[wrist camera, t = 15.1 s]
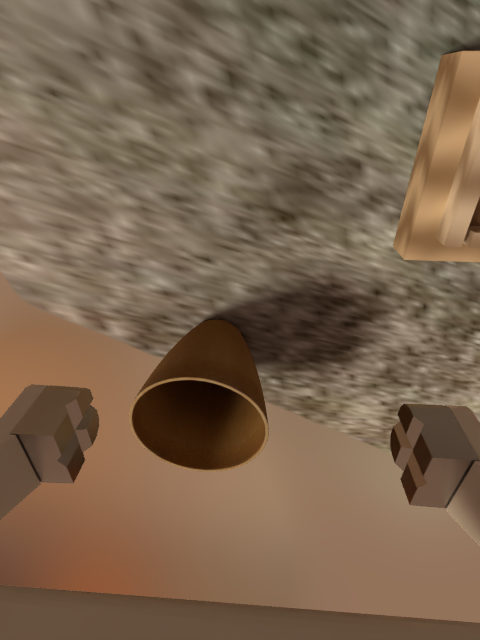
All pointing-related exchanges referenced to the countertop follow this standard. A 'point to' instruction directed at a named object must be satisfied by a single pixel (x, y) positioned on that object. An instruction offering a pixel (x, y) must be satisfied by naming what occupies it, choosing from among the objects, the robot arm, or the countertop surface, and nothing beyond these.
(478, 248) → the display stand
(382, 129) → the countertop surface
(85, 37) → the countertop surface
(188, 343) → the plant pot
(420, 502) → the robot arm
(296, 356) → the countertop surface
